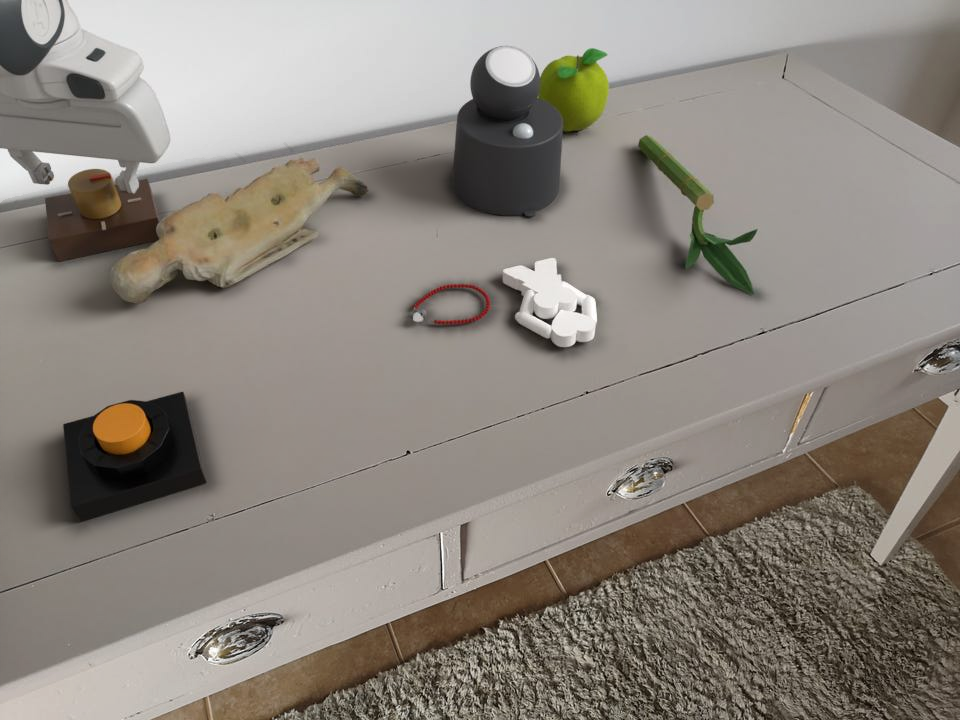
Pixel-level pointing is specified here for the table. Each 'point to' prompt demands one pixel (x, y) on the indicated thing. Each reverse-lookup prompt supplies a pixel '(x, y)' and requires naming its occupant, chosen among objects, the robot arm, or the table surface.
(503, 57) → the light fixture
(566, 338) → the white abstract figurine
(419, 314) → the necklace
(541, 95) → the fruit
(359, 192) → the statue
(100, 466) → the switch box
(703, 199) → the decorative plant
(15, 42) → the robot arm
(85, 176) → the dimmer knob
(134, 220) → the dimmer panel
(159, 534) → the table surface
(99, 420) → the light button
